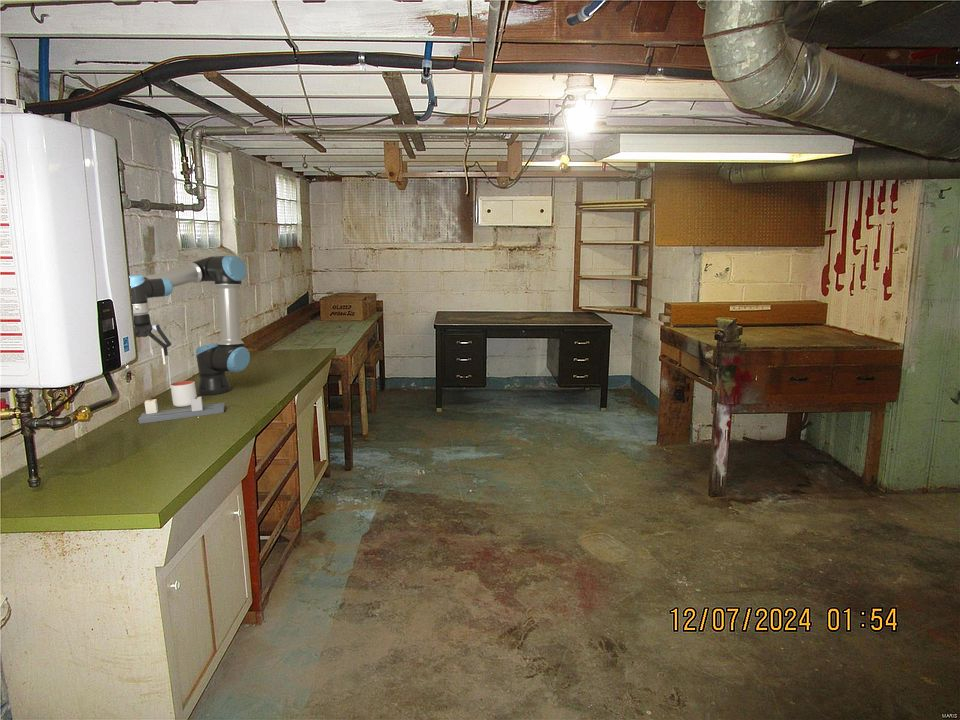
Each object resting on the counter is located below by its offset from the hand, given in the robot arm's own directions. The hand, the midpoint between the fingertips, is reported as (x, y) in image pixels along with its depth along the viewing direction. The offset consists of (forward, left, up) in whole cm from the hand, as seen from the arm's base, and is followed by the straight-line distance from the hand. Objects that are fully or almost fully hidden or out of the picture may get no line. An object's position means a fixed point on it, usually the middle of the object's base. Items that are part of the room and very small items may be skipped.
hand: (146, 365), depth 261 cm
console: (+1, +11, -22) cm, 25 cm away
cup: (-19, +10, -23) cm, 31 cm away
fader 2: (+4, +17, -20) cm, 27 cm away
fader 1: (-2, -1, -20) cm, 20 cm away
